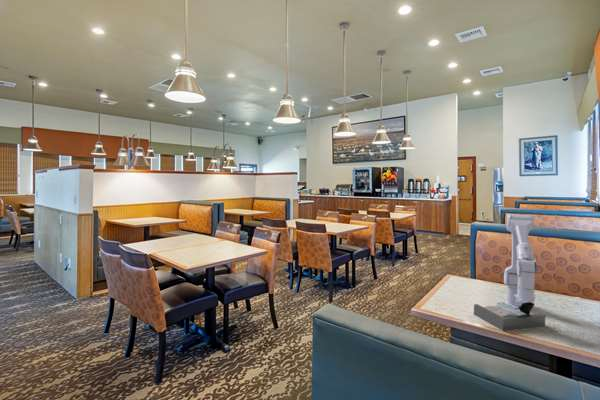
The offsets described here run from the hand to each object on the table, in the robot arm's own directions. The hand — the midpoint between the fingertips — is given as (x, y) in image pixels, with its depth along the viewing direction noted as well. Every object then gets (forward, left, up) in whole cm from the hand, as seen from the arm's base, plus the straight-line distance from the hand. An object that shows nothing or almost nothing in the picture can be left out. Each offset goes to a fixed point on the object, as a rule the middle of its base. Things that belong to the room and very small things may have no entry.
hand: (524, 318), depth 130 cm
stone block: (+8, -6, -2) cm, 10 cm away
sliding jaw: (+2, -5, -1) cm, 5 cm away
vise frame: (+5, -3, -2) cm, 6 cm away
